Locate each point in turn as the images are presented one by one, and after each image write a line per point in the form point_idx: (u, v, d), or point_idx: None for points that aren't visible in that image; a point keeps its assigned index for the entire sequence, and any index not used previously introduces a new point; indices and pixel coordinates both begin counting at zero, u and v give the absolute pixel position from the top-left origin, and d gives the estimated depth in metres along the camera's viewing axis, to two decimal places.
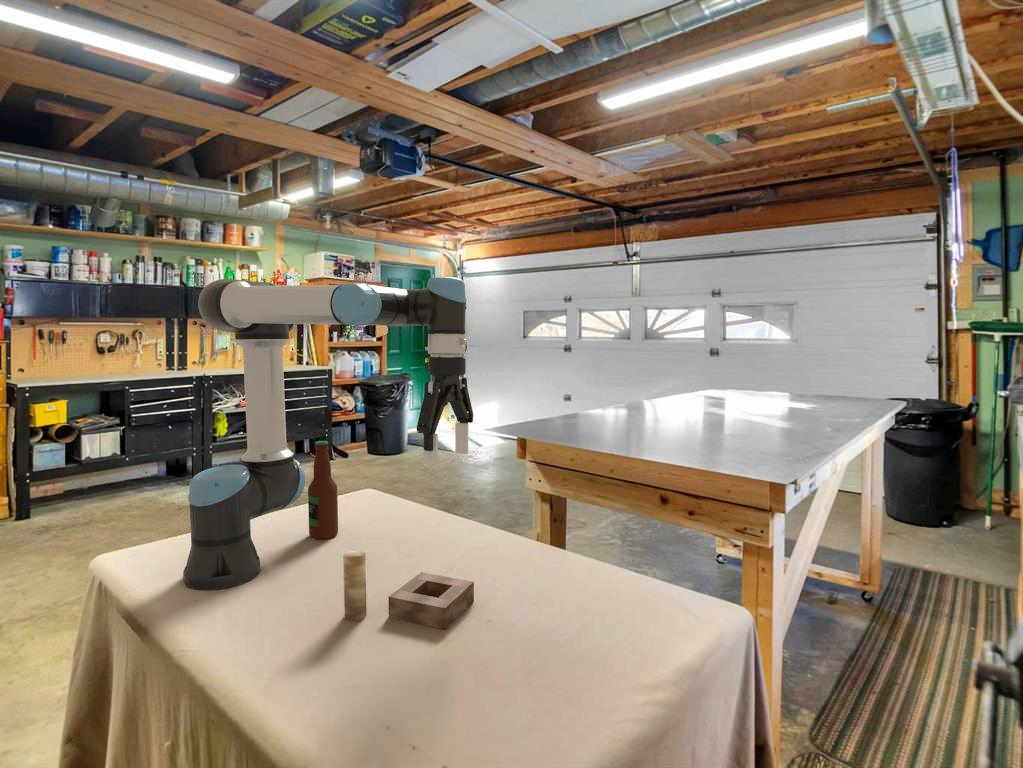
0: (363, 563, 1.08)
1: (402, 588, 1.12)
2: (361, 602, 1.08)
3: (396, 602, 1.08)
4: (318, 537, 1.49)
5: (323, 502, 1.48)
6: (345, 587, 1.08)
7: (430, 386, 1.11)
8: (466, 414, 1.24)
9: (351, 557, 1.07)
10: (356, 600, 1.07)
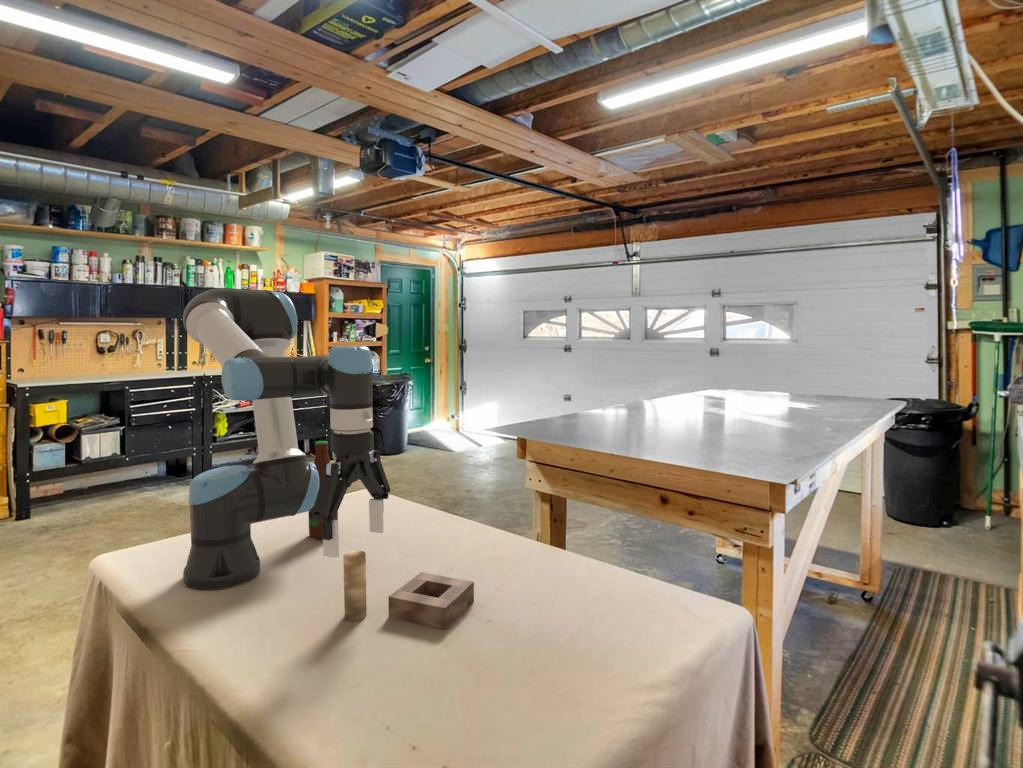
0: (363, 563, 1.08)
1: (402, 588, 1.12)
2: (361, 602, 1.08)
3: (396, 602, 1.08)
4: (318, 537, 1.49)
5: None
6: (345, 587, 1.08)
7: (328, 468, 1.00)
8: (380, 490, 1.13)
9: (351, 557, 1.07)
10: (356, 600, 1.07)
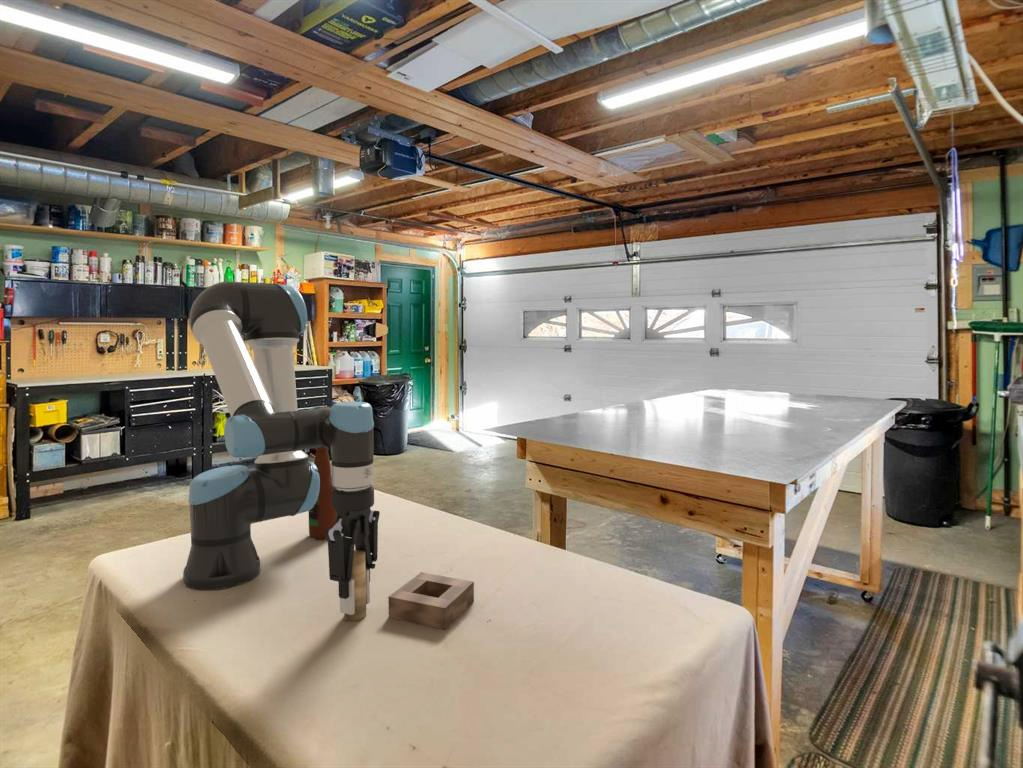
0: (363, 562, 1.08)
1: (402, 588, 1.12)
2: (361, 602, 1.08)
3: (396, 602, 1.08)
4: (318, 537, 1.49)
5: (323, 502, 1.48)
6: None
7: (331, 536, 1.02)
8: (369, 557, 1.11)
9: None
10: (356, 599, 1.07)
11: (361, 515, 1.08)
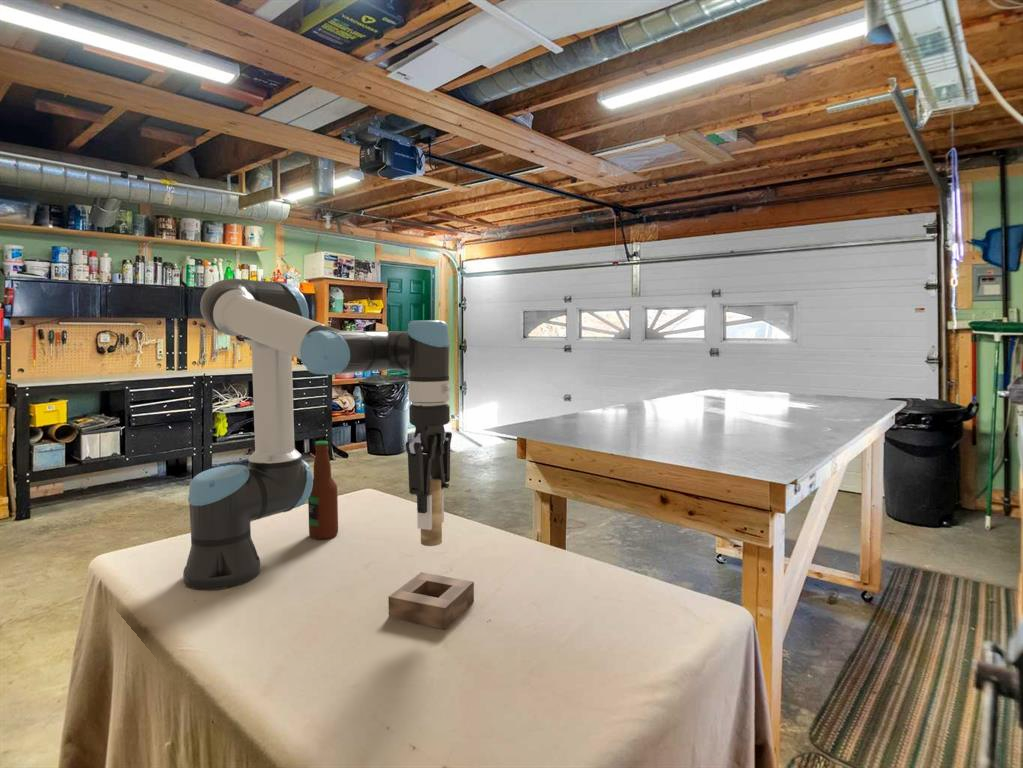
0: (439, 489, 1.09)
1: (402, 588, 1.12)
2: (438, 527, 1.09)
3: (396, 602, 1.08)
4: (318, 537, 1.49)
5: (323, 502, 1.48)
6: None
7: (411, 448, 1.03)
8: (443, 476, 1.12)
9: None
10: (433, 525, 1.09)
11: (437, 432, 1.10)
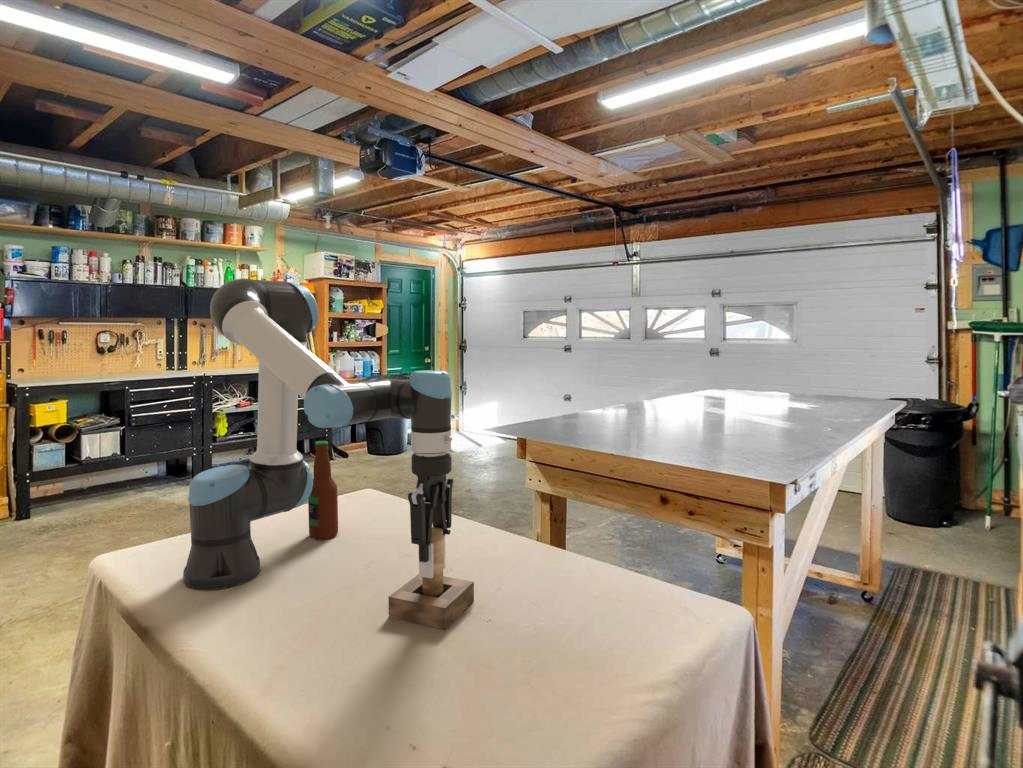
0: (441, 539, 1.11)
1: (402, 588, 1.12)
2: (439, 577, 1.11)
3: (396, 602, 1.08)
4: (318, 537, 1.49)
5: (323, 502, 1.48)
6: None
7: (414, 499, 1.04)
8: (445, 523, 1.14)
9: None
10: (435, 575, 1.10)
11: (439, 481, 1.11)
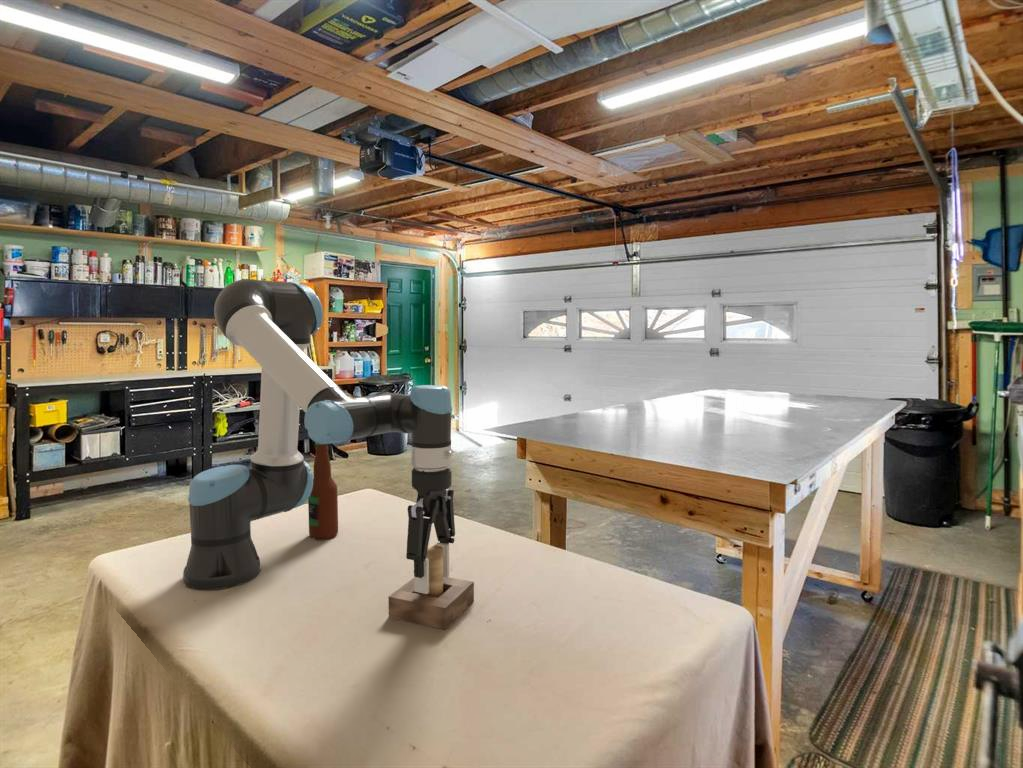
0: (441, 557, 1.11)
1: (402, 588, 1.12)
2: (439, 595, 1.11)
3: (396, 602, 1.08)
4: (318, 537, 1.49)
5: (323, 502, 1.48)
6: None
7: (413, 512, 1.04)
8: (448, 532, 1.15)
9: (430, 551, 1.10)
10: (435, 593, 1.10)
11: (439, 498, 1.11)
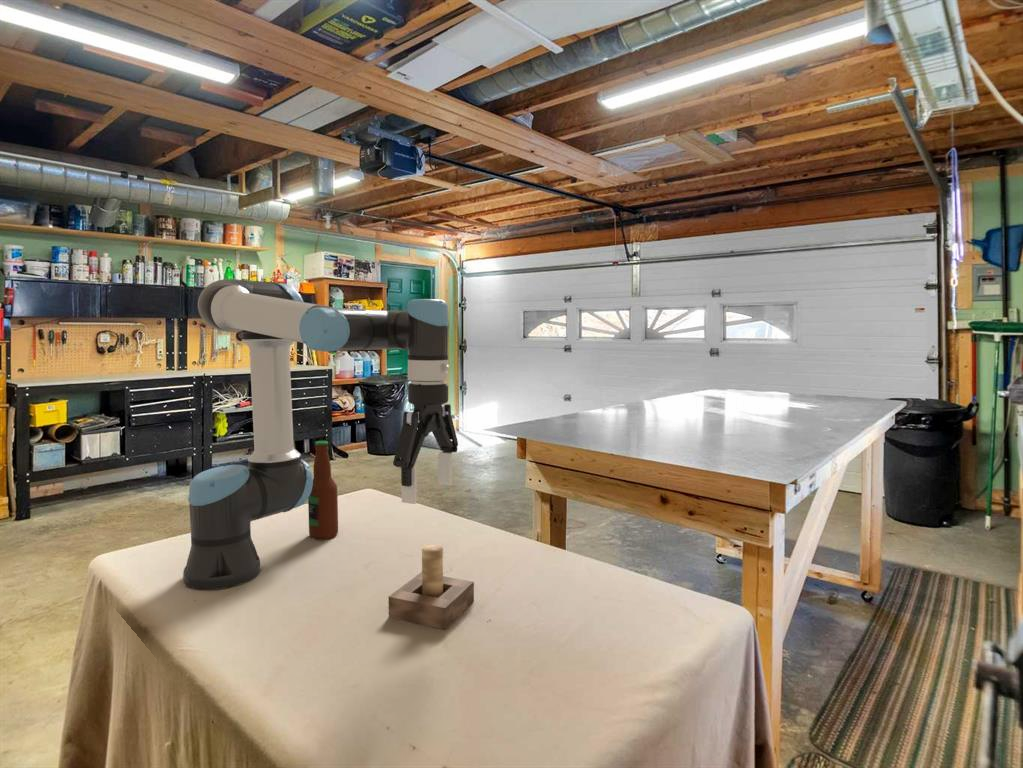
0: (441, 557, 1.11)
1: (402, 588, 1.12)
2: (439, 595, 1.11)
3: (396, 602, 1.08)
4: (318, 537, 1.49)
5: (323, 502, 1.48)
6: (424, 581, 1.11)
7: (408, 416, 1.03)
8: (450, 443, 1.16)
9: (430, 551, 1.10)
10: (435, 593, 1.10)
11: (436, 417, 1.10)
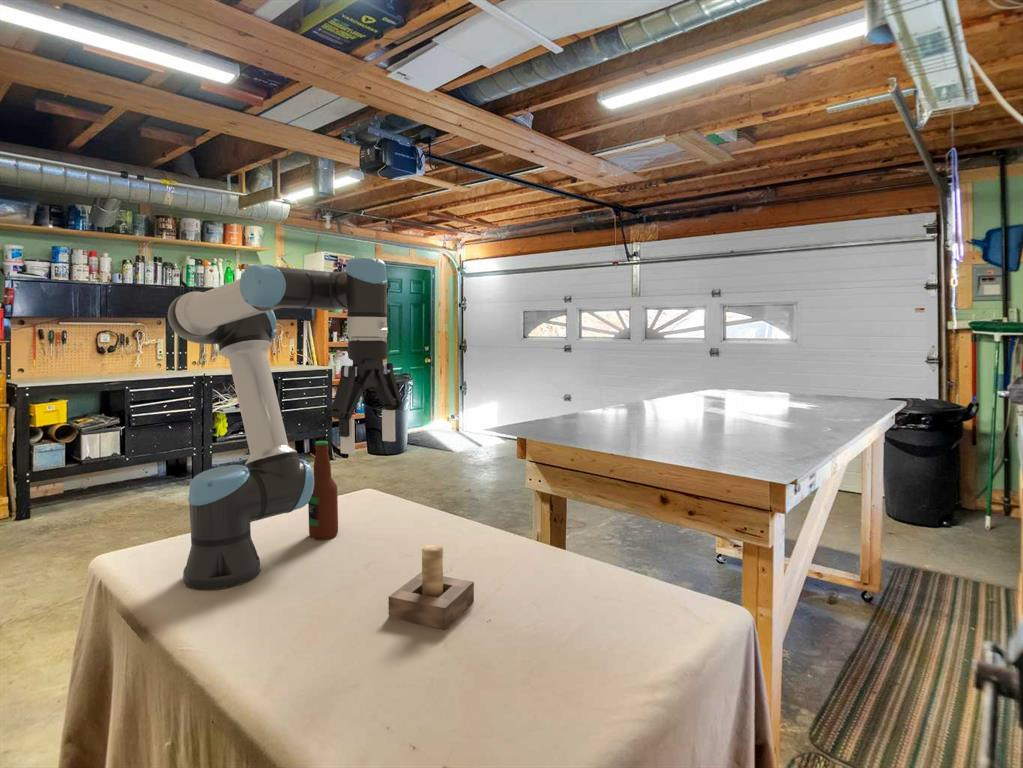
0: (441, 557, 1.11)
1: (402, 588, 1.12)
2: (439, 595, 1.11)
3: (396, 602, 1.08)
4: (318, 537, 1.49)
5: (323, 502, 1.48)
6: (424, 581, 1.11)
7: (346, 370, 1.07)
8: (393, 400, 1.20)
9: (430, 551, 1.10)
10: (435, 593, 1.10)
11: (376, 374, 1.14)
